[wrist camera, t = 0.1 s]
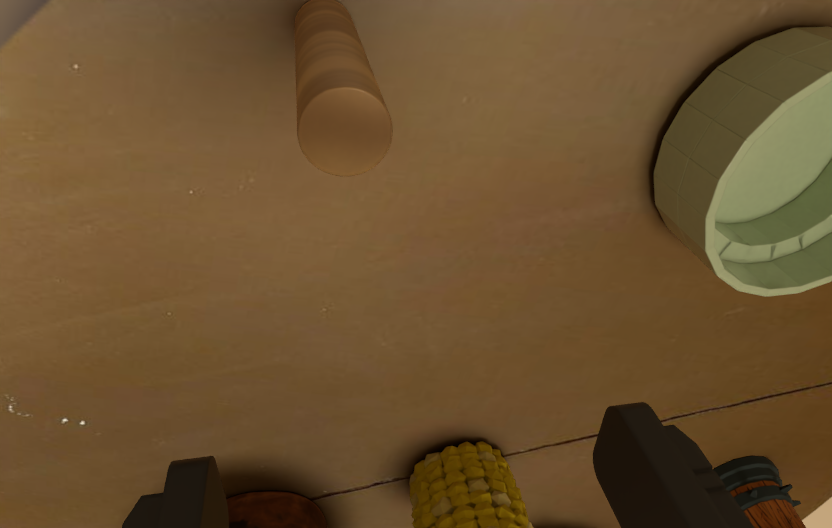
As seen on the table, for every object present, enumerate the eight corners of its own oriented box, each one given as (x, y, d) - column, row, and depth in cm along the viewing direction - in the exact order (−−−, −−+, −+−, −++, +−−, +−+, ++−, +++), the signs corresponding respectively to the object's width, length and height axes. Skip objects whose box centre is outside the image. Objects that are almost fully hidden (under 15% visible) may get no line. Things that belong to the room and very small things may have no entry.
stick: (291, -3, 28) (292, 88, 17) (352, -4, 29) (392, 84, 18) (297, 60, 30) (302, 180, 19) (354, 58, 31) (393, 174, 19)
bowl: (686, 27, 33) (761, 59, 28) (913, 21, 35) (1022, 49, 30) (626, 250, 42) (675, 306, 36) (812, 233, 44) (882, 284, 39)
